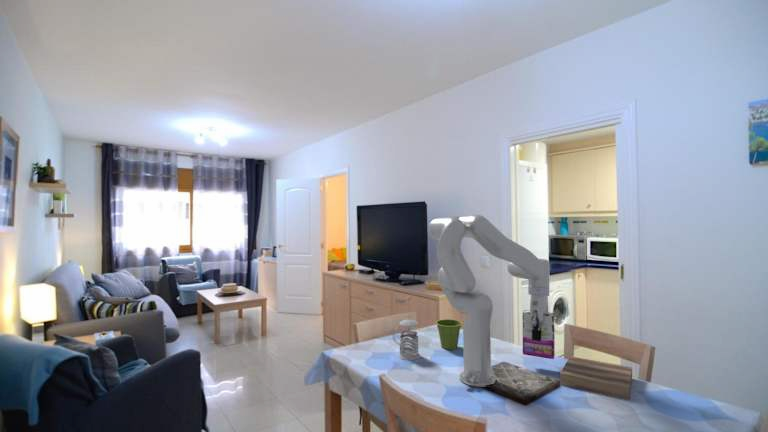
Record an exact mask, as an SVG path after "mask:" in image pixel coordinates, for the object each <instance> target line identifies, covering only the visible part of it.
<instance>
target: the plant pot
mask: <svg viewBox="0 0 768 432" xmlns="http://www.w3.org/2000/svg"><path fill="white" fill-rule="evenodd" d="M435 324H436V325H437V326H436V327H437V329H438V336H439V340H440V341H439V342H440V346H441V348H442V349H446V350H449V351H450V350H452V351H453V350H455V349H457V348H458V347H459V346H458V345H459V338H460V332H461V328H462V324H463V322H462V321H460V320H458V319H452V318H451V319H449V318H444V319H443V318H442V319H438V320H436V321H435Z"/></svg>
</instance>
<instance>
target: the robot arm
mask: <svg viewBox="0 0 768 432" xmlns="http://www.w3.org/2000/svg"><path fill="white" fill-rule="evenodd" d="M427 227H428V229H427V231H428V234H429V236H430V237H431V238H432V239H433V240H435V241H438V242H437V243H438V244H437V249H436V256H437V260H438V262H439V264H440V266H441V267H440V268H439V270H438V273H437V281H438V285H439V286H440V288H441V290H442V292H443V293H444V295H445V297H446V299H447V300H448V302H449V304H450V305H451V306H452V308H453V309H454V310H455V311H456V312H459V313H461V314H463V315H466V316H465V320H464V323H463V327H462V335H463V337H462V339H463V341H462V343H463V344H462V345H463V371H461V373H459V380H460V381H461V382H462V383H463V384H464V385H465V384H466V385H468V386H472V387H477V388H486V385H489V384H492V383H494V382H495V381H497V379H496V376H495V375H494V374H493V373H492V349H491V348H492V345H491V344H492V342H491V323H492V317H493V316H492V314H493V308H494V307H493V306H494V303H493V300H492V299H491V296H489V295H488V294H487V293H485V292H483V291H479V290H476V289H475V287H476V280H477V279H476V277H475V275H474V273H473V272H472V271H473V270H471V268H470V265H469V264H468V262H467V260H466V259H465V257H464V254H463V252H462V248H461V247H462V241H463V238H468V239H469V238H471V239H473V240H474V241H475V242H476V243H477V244H479V245H480V246H481V247H482V248H483V249H484V250H486V251H487V252H488V253H489V254H490V255H491V256H494V257H495V258H498V259H500V260H503V261H506V262H507V263H508V264H507V272H508V273H509V274H510V275H511V276H512V277H515V278H518V279H524V280H528V282H527V283H528V289H527V290H528V293H527V294H528V295H529V296H530V302H529V305H530V306H529V311H530V320H531V321H532V340H537V341H541V330H540V327H541V322H542V323H544V322H545V314H546V313H550V312H549V296H550V261H549V260H547V259H544V258H538V257H537V256H536V255H535V254H534V253H533V252H532V251H531V250H529V249H527V247H524V246H522V245H520V244H519V243H517V242H516V241H513V240H512V239H510V238H509V237H507V236H506V235H504V233H503V232H501V231H500V230H499V229H498V228H497V227H496V226H495V225H494V224H493V223H492V222H491V221H490V220H488V219H487V218H486V217H485V216H483V215H480V214H470V215H458V216H448V217H447V216H446V217H436V218H434V219H432V221H430V223H429V224H428V226H427ZM532 317H533V319H532ZM537 320H539V321H537ZM537 323H539V324H537ZM493 377H494V378H493ZM495 383H496V382H495Z"/></svg>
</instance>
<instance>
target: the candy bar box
mask: <svg viewBox="0 0 768 432" xmlns="http://www.w3.org/2000/svg"><path fill="white" fill-rule="evenodd" d="M532 319H533V317H532ZM537 321H539V320H537ZM537 324H539V323H537ZM540 330H541V341H537V340H532V321H531V320H530V309H524V310H522V354H523V355H526V356H531V357H537V358H544V359H551V360H554V359H555V352H556V351H555V335H556V334H555V312H549V313H546V314H545V322H544V323H542V322H541V327H540Z"/></svg>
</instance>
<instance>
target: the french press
mask: <svg viewBox="0 0 768 432" xmlns="http://www.w3.org/2000/svg"><path fill="white" fill-rule="evenodd" d="M406 301H408V302H407V303H408V305H407V307H408V308H407V309H408V312H407V313H408V316H407V317H408V319H403V320H402V321H400V322H399V323H398V324H399V325H400V326H399V325H398V326H396V327H395V329H394V330H393V333H392V334H393V335H392V337H393V338H392V339H393V341H394V342H395V343H396V345H399V353H398V355H397V357H398V358H399V359H401V360H404V361H405V360H406V361H414V360H418V359H420V358H421V353H419V336H418V332H417V331H414V330H410V329H408V330H403V331H401V332H400V334H401V335H400V336H399V340H400V341H399V342H398V341H397V340H396V338H395V332H396V330H397V329H401V327H405V328H407V327H408V328H410V327H411V328H412V327H417V326H418V325H419V323H418V322H417V320H413V319H410V301H411V297H410V296H407V297H406Z"/></svg>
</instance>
